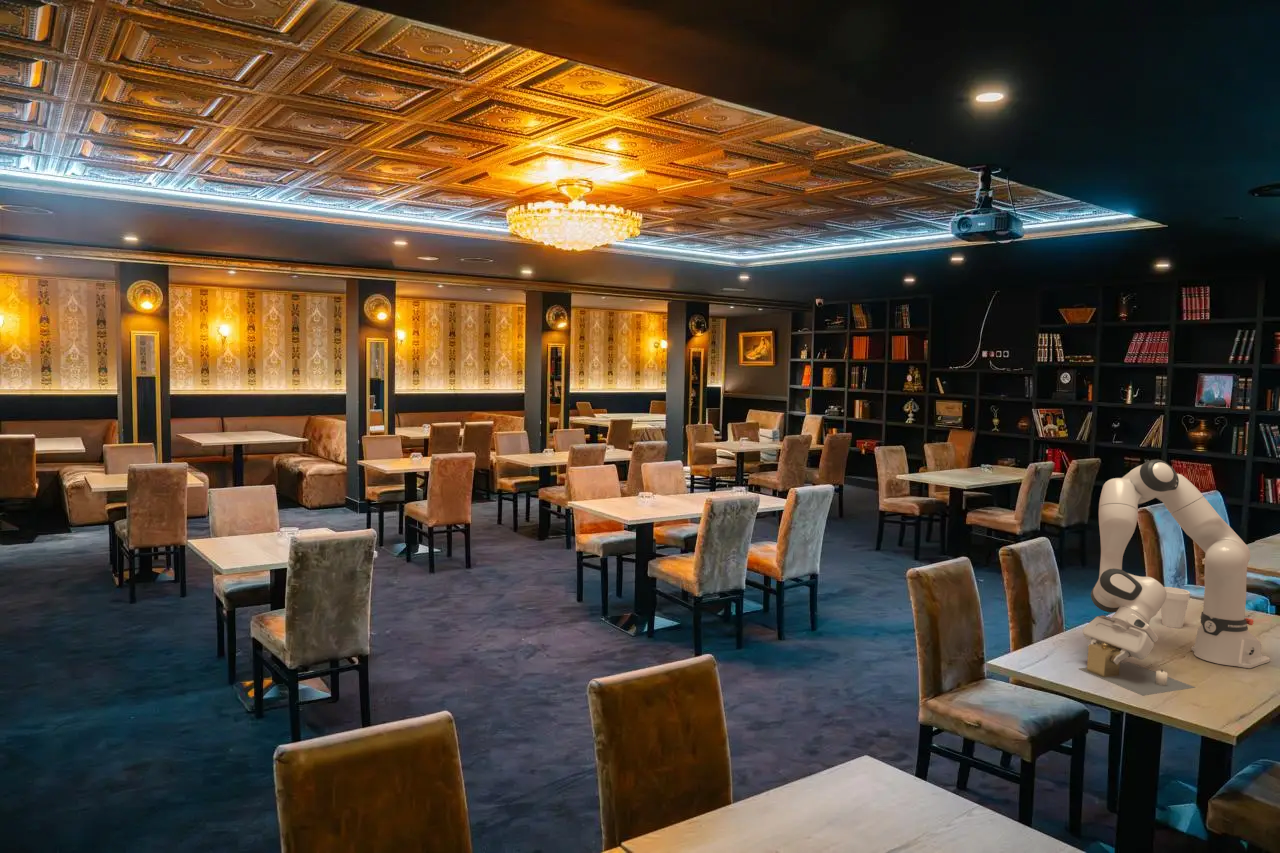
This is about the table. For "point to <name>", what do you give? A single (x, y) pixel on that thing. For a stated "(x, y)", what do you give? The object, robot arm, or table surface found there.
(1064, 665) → the table surface
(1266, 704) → the table surface
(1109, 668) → the brass knob block
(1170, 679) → the charcoal mat
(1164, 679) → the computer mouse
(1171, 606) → the foam cup
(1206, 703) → the table surface
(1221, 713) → the table surface
